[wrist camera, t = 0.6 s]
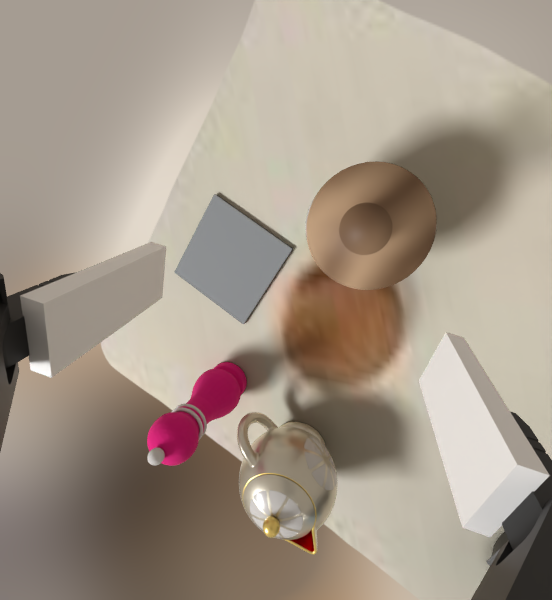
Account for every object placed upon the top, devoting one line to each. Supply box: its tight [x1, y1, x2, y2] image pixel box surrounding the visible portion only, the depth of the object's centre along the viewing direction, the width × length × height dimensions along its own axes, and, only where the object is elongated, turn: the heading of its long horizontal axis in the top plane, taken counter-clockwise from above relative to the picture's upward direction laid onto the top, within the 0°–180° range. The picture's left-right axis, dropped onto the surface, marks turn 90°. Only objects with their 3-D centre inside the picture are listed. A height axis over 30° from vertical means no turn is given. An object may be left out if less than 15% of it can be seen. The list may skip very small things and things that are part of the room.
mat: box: [175, 194, 293, 324], centre depth 48 cm, size 14×14×1 cm
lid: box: [306, 162, 437, 290], centre depth 30 cm, size 13×13×10 cm
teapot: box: [237, 412, 337, 554], centre depth 44 cm, size 18×14×16 cm
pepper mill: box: [147, 362, 247, 465], centre depth 44 cm, size 7×7×20 cm
